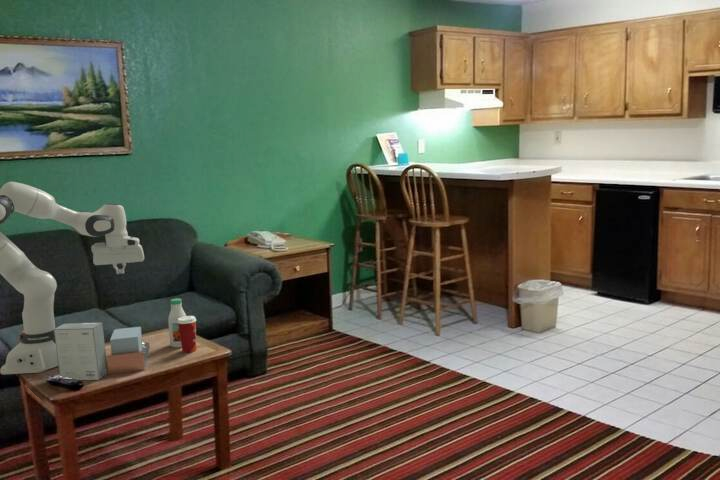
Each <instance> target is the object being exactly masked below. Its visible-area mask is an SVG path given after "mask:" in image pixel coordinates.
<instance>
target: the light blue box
mask: <svg viewBox="0 0 720 480" xmlns="http://www.w3.org/2000/svg"><path fill="white" fill-rule="evenodd" d="M142 342H143V336H142V327H141V326H133V327H124V328H123V327H122V328H115V329H114V330H113V332H112V334H111V337H110V339H109V343H110V352H111V353H110V354H118V353H126V352H135V351H142V350H143V344H142Z"/></svg>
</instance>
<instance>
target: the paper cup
mask: <svg viewBox="0 0 720 480" xmlns="http://www.w3.org/2000/svg"><path fill="white" fill-rule="evenodd" d="M177 323H178V326H179V333H180V339H181V346H182V347H181V349H182V351H181V352H182V353H183V354H190V353H195V352H196V351H197V318H196V316H194V315H186V316H183V317H180V318H178V321H177Z"/></svg>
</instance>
